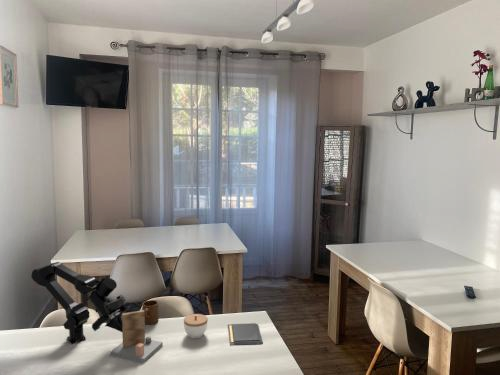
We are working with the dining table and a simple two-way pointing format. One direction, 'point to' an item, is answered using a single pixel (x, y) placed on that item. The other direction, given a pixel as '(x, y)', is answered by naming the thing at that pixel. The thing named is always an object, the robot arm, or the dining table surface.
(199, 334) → the lidded jar
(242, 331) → the grey book
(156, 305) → the mug
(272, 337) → the dining table surface
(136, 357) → the board
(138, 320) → the brown wooden panel
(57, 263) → the robot arm
